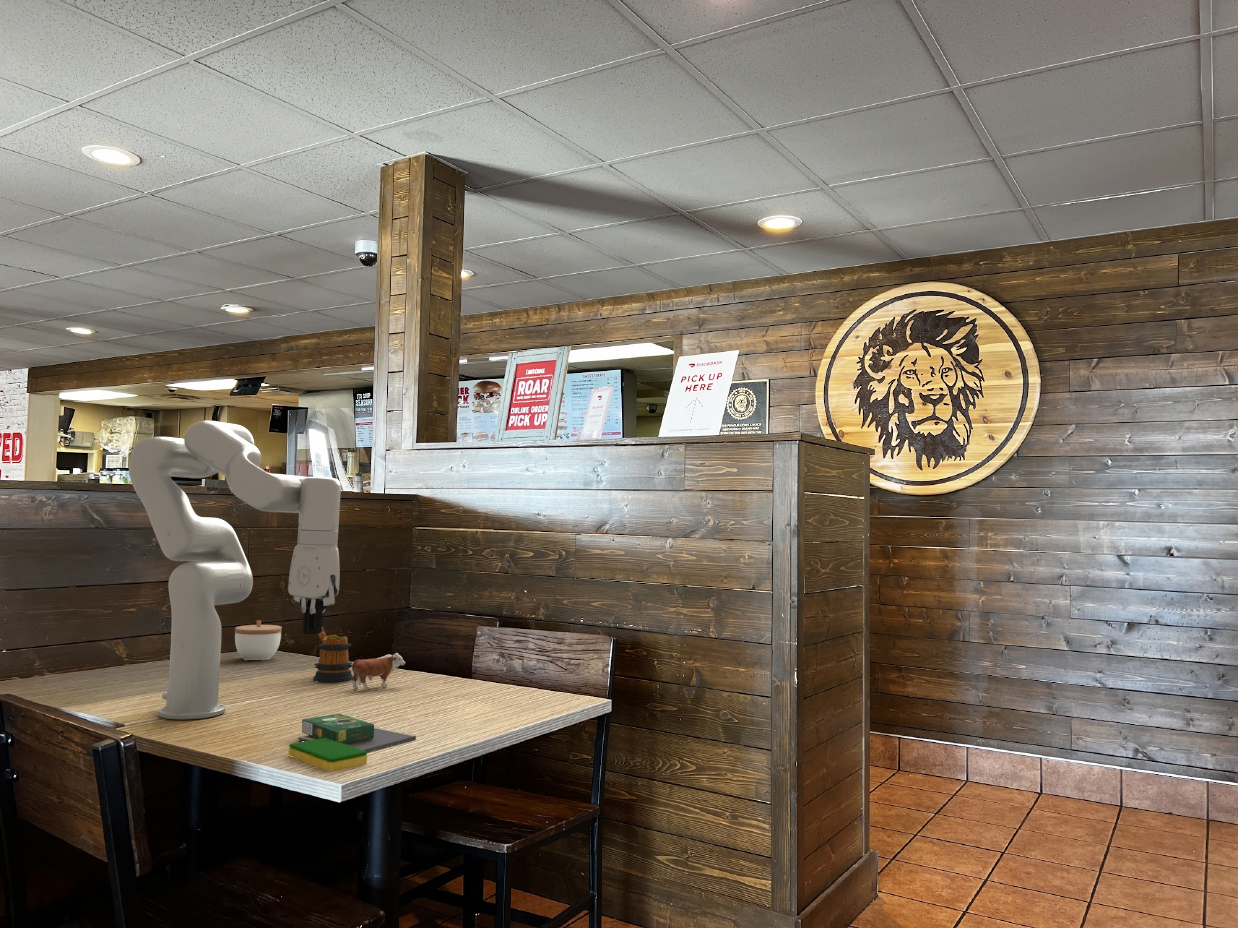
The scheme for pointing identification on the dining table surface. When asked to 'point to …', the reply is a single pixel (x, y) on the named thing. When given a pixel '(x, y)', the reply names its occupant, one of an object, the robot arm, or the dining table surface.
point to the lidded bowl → (257, 641)
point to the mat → (376, 739)
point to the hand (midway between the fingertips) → (312, 633)
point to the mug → (333, 660)
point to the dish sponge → (328, 754)
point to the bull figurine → (375, 669)
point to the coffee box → (338, 728)
